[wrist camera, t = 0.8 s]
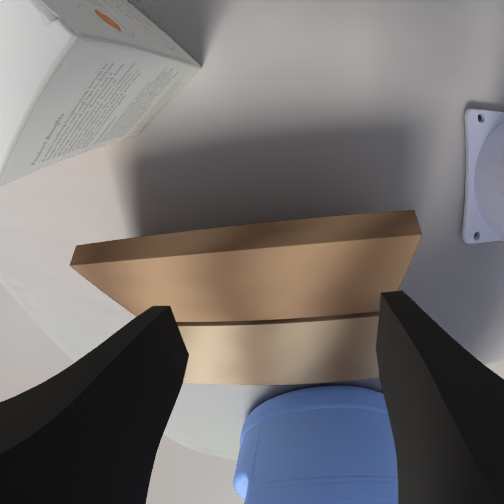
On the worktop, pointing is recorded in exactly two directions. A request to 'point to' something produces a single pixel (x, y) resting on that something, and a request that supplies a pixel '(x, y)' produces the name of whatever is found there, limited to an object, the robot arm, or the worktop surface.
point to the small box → (79, 78)
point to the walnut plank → (258, 267)
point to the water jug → (318, 449)
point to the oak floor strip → (282, 350)
